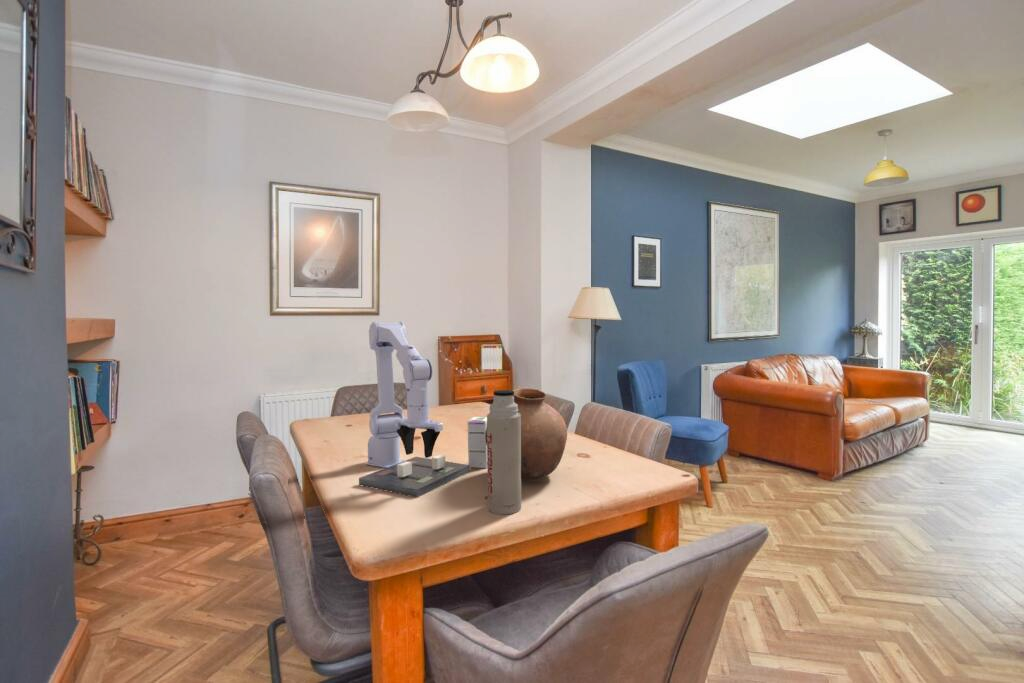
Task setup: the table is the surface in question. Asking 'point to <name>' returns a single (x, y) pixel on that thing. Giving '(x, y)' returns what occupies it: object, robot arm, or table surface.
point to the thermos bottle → (504, 454)
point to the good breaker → (438, 461)
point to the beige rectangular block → (404, 469)
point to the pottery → (539, 434)
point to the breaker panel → (414, 477)
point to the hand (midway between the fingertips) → (418, 455)
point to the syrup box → (477, 442)
